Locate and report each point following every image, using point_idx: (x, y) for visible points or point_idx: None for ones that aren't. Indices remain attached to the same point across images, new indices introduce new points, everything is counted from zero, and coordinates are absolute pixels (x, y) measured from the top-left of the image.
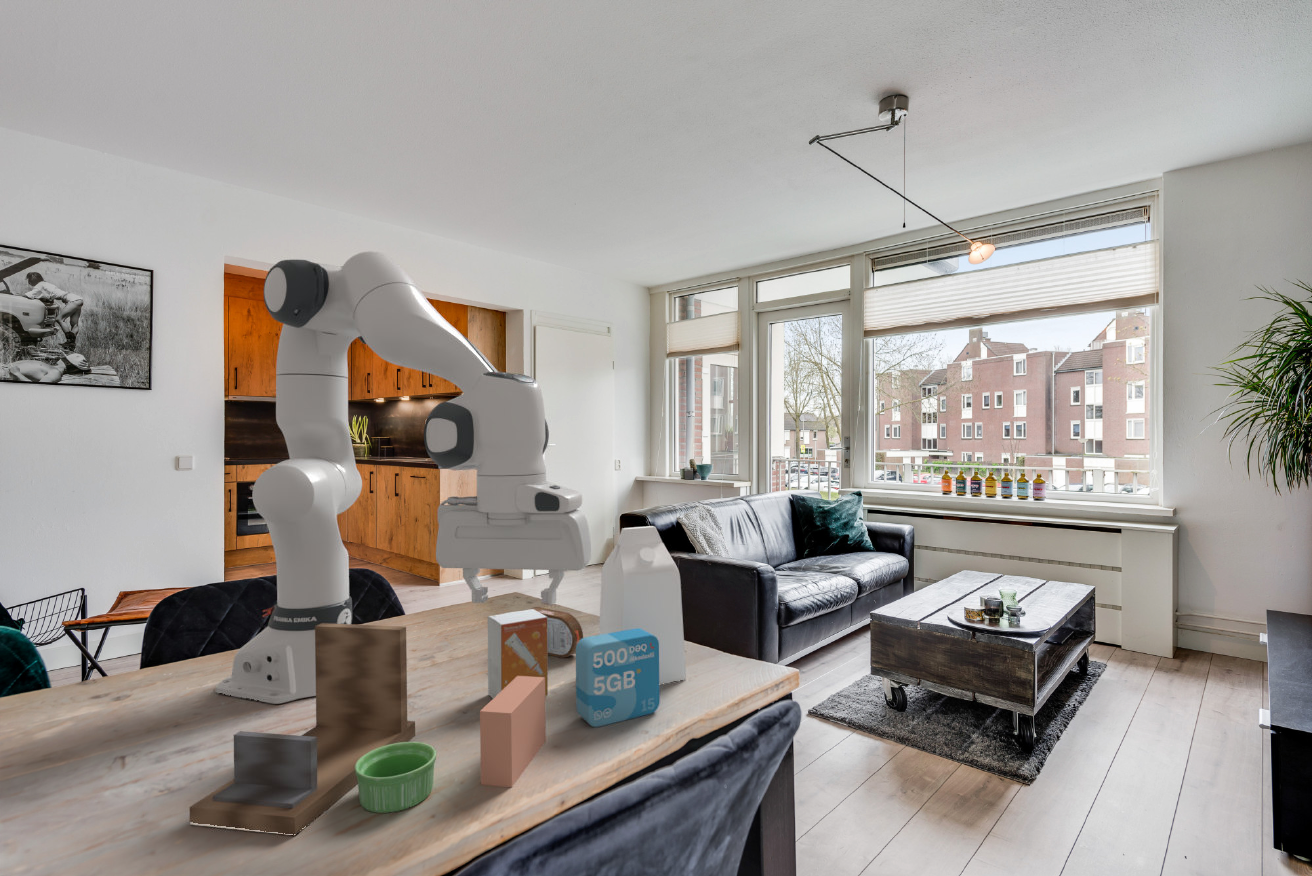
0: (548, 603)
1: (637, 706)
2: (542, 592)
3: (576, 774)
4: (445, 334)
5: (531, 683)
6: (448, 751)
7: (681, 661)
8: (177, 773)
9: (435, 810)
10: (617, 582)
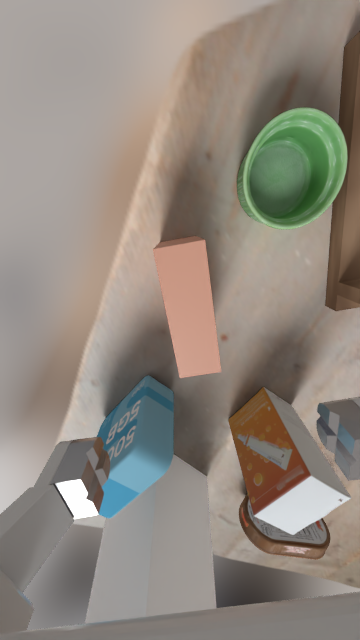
0: (69, 441)
1: (114, 413)
2: (74, 476)
3: (111, 287)
4: None
5: (186, 354)
6: (269, 286)
7: None
8: None
9: (212, 168)
10: None
